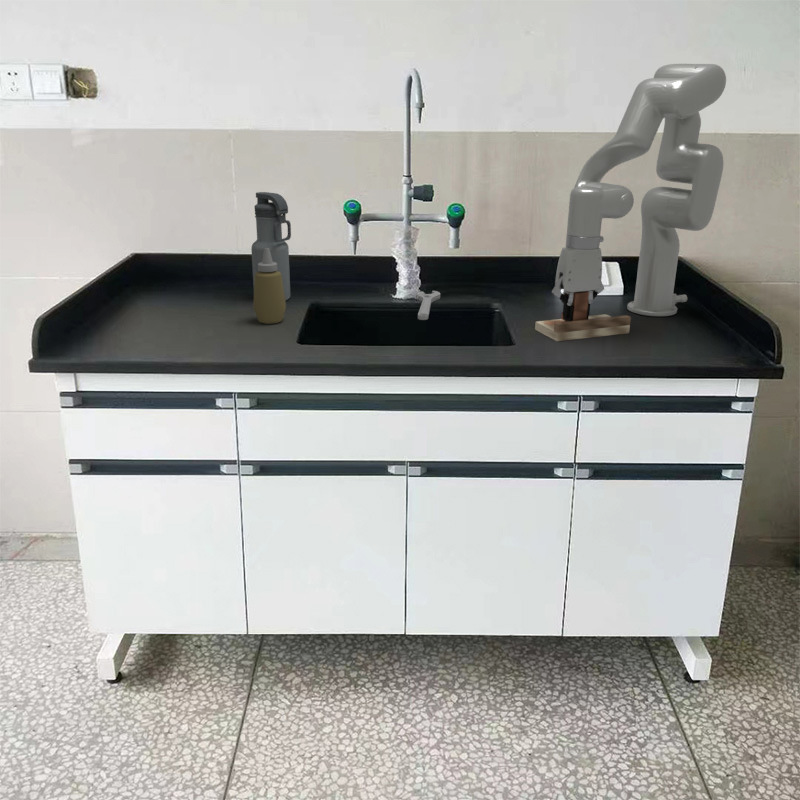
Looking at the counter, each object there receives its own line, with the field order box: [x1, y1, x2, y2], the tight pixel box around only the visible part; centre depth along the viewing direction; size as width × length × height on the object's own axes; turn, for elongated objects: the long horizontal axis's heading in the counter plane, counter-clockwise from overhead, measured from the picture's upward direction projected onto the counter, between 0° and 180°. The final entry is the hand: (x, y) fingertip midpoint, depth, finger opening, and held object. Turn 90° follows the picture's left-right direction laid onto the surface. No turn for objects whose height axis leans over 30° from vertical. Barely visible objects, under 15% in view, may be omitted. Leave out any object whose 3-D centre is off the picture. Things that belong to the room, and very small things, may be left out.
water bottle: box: [250, 191, 292, 302], centre depth 217 cm, size 10×10×28 cm
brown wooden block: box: [560, 291, 589, 322], centre depth 194 cm, size 4×6×8 cm, turn 21°
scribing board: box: [534, 314, 632, 342], centre depth 196 cm, size 20×10×4 cm, turn 111°
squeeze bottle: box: [252, 248, 287, 325], centre depth 199 cm, size 8×8×18 cm
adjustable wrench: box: [415, 290, 441, 321], centre depth 217 cm, size 25×6×2 cm, turn 170°
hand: (575, 318), depth 194 cm, fingers closed on brown wooden block, 3 cm apart
